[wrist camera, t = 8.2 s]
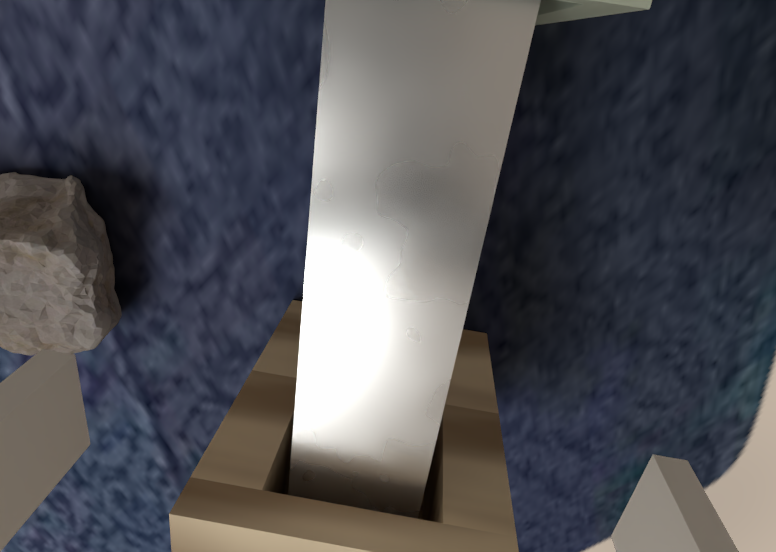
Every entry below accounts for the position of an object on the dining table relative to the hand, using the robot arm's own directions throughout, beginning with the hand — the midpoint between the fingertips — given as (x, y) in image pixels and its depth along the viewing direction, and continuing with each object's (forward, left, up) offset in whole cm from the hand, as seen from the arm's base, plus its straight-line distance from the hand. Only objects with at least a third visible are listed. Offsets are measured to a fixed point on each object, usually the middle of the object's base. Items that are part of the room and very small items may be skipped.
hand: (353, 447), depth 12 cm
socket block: (+5, 0, -11) cm, 13 cm away
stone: (+2, -16, -12) cm, 20 cm away
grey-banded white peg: (-3, 0, -5) cm, 6 cm away
